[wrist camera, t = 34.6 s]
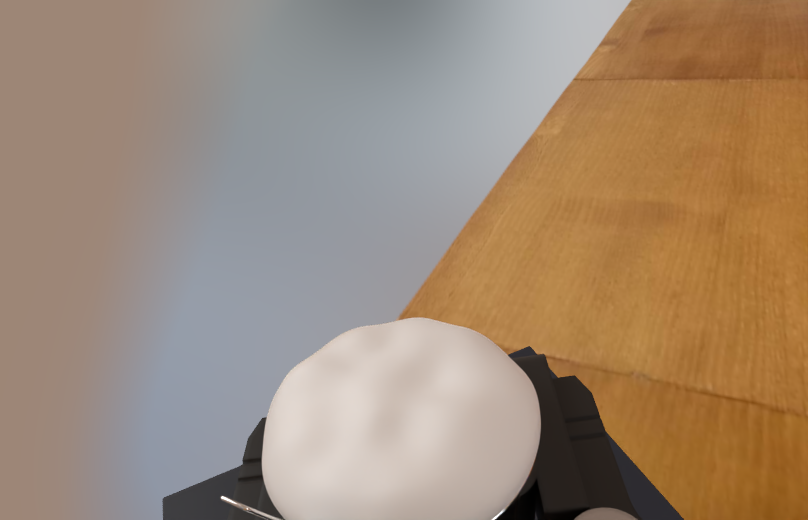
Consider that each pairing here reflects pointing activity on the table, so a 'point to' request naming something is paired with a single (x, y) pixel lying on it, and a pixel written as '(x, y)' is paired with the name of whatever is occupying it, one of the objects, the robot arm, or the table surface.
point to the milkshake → (403, 429)
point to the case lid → (207, 514)
